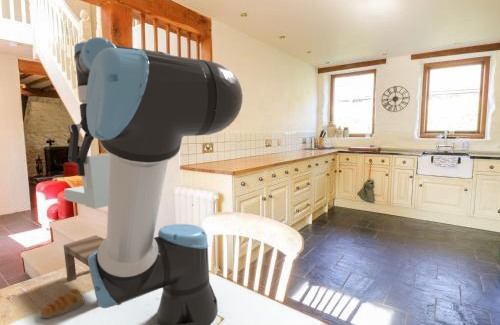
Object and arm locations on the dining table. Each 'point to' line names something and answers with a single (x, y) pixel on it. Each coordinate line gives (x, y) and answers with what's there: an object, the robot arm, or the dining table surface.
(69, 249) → the bench
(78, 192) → the white stepped block
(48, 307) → the pastry
